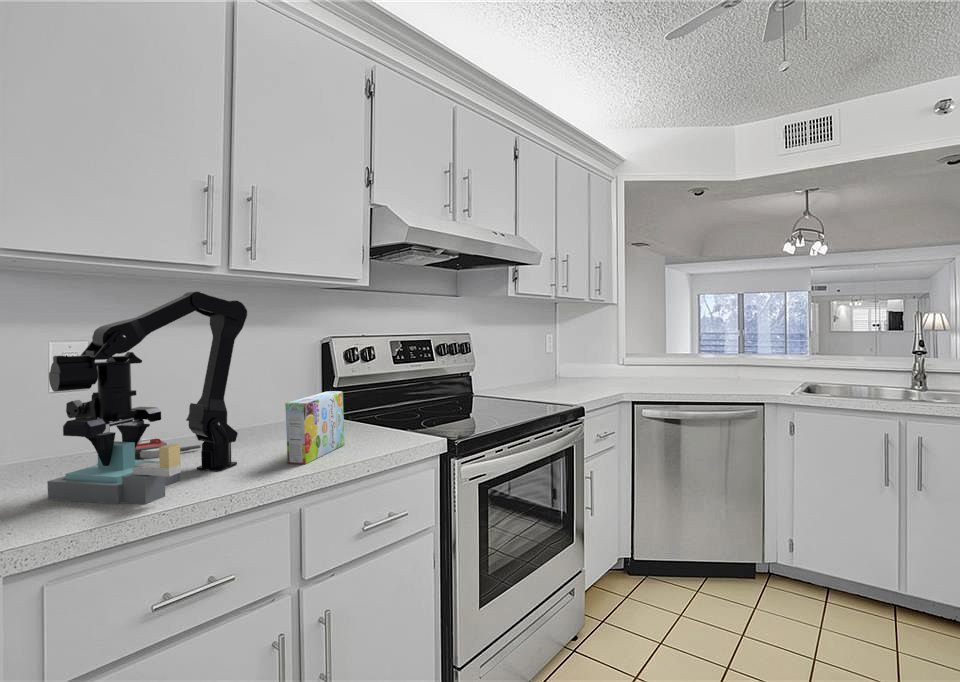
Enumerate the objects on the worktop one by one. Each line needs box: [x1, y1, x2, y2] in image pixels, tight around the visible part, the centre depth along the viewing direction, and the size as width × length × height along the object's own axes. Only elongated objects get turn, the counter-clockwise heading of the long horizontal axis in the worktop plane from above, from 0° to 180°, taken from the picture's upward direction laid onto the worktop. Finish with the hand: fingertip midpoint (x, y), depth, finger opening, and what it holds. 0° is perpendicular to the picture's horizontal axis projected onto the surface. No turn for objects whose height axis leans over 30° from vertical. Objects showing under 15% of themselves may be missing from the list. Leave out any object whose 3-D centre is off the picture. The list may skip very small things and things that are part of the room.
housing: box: [47, 472, 181, 505], centre depth 114 cm, size 16×21×5 cm
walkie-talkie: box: [135, 436, 202, 460], centre depth 145 cm, size 9×4×20 cm
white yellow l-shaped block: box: [132, 443, 182, 477], centre depth 107 cm, size 3×8×6 cm, turn 79°
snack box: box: [284, 390, 346, 465], centre depth 145 cm, size 21×6×15 cm, turn 168°
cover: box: [64, 440, 160, 483], centre depth 115 cm, size 12×12×8 cm
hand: (116, 462), depth 115 cm, fingers open, 5 cm apart
